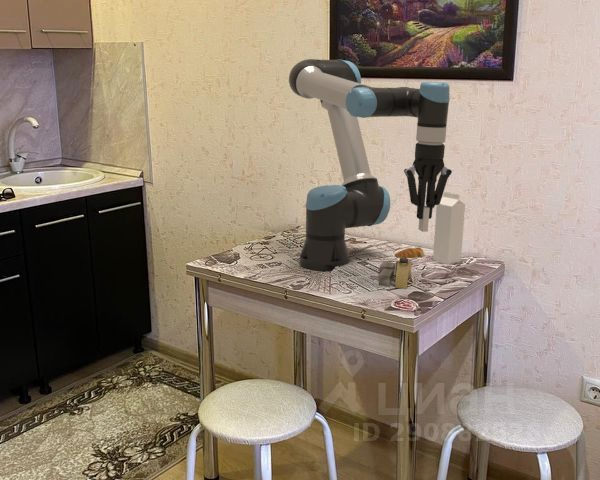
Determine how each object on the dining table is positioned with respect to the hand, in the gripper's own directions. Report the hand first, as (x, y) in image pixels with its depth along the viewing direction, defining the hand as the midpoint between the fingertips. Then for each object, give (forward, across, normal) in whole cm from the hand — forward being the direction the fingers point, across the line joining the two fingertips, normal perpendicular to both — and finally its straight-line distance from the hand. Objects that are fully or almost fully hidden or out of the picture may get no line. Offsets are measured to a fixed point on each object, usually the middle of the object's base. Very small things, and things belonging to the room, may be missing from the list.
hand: (423, 230), depth 179 cm
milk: (+16, -16, -16) cm, 28 cm away
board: (+15, +3, -3) cm, 16 cm away
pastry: (+16, -8, -24) cm, 30 cm away
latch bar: (+14, +5, 0) cm, 15 cm away
